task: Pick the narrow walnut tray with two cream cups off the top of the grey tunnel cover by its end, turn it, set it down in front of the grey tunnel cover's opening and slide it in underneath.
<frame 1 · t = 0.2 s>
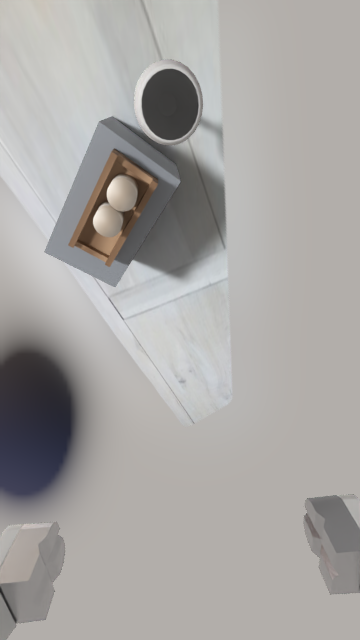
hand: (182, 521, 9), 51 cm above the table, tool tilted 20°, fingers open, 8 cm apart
grey tunnel cover: (117, 195, 51), on the table
wineglass: (165, 103, 44), on the table
tray: (113, 209, 41), point 12 cm above the table, touching grey tunnel cover
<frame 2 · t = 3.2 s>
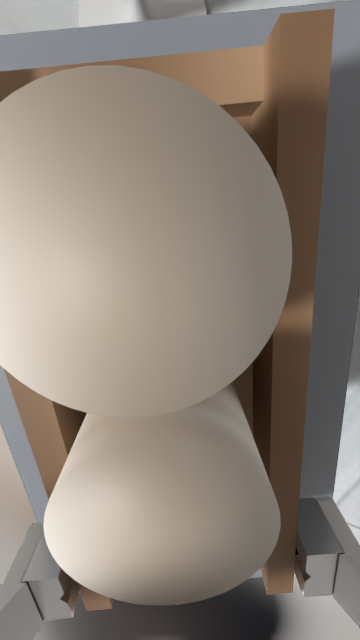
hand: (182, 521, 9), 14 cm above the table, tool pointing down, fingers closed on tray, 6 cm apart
grey tunnel cover: (171, 300, 21), on the table
wineglass: (143, 31, 16), on the table
tray: (167, 361, 9), point 12 cm above the table, touching grey tunnel cover, gripper
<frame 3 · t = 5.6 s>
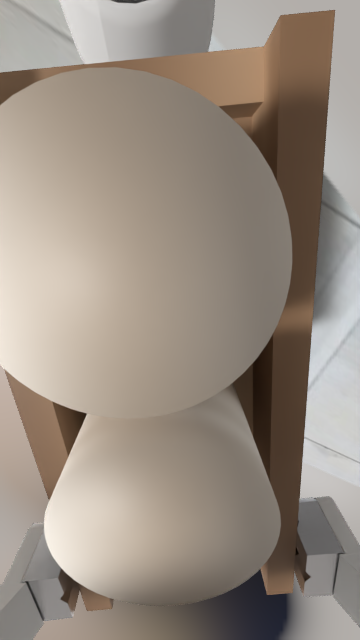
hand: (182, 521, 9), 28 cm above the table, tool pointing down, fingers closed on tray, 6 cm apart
wineglass: (156, 116, 29), on the table
tray: (167, 362, 9), point 26 cm above the table, touching gripper
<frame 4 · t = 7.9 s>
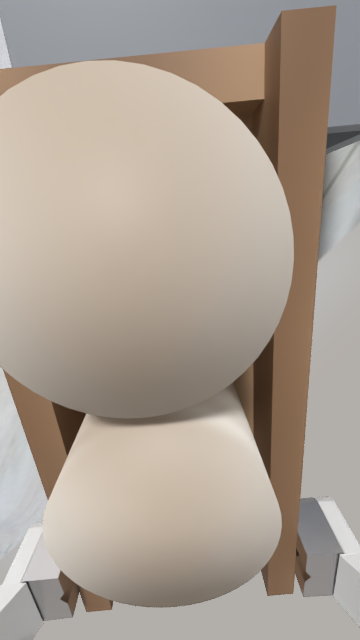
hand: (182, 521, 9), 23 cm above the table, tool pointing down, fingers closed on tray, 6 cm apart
grey tunnel cover: (195, 95, 25), on the table
tray: (167, 361, 9), point 22 cm above the table, touching gripper
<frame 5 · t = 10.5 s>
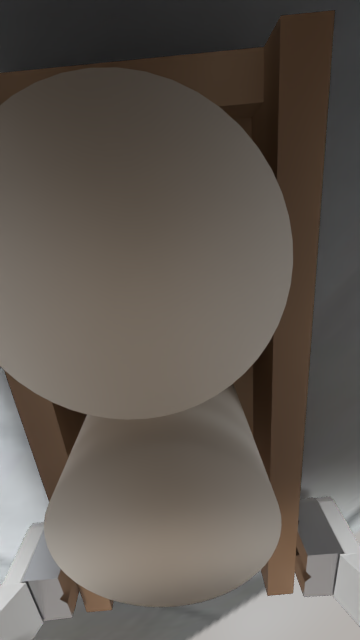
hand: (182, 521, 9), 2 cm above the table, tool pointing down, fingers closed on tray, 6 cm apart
tray: (167, 362, 9), on the table, touching gripper
when the fingers open (2 cm above the table, at t = 12.9 s): tray stays where it is, on the table.
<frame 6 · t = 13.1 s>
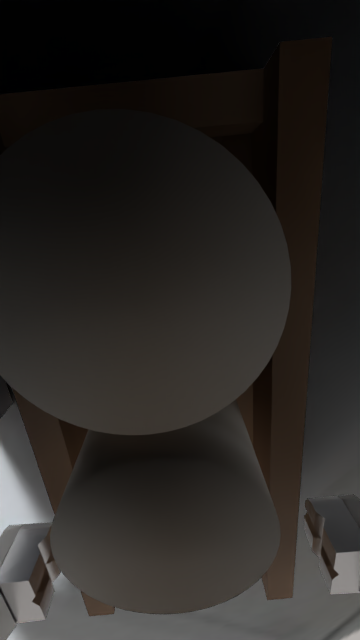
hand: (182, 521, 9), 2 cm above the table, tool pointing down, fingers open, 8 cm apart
grey tunnel cover: (277, 182, 7), on the table
tray: (168, 369, 9), on the table
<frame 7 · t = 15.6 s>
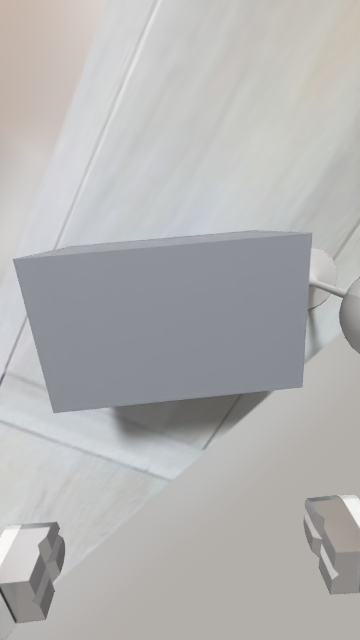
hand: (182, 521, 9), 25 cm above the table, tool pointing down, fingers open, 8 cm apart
grey tunnel cover: (169, 292, 33), on the table
wineglass: (304, 279, 33), on the table
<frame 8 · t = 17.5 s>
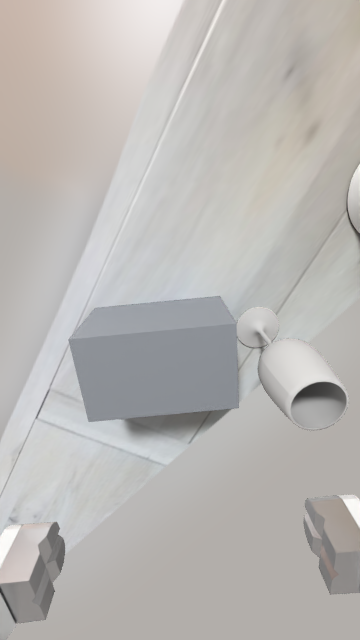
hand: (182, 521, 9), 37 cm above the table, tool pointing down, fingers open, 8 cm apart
grey tunnel cover: (161, 336, 47), on the table
wineglass: (256, 326, 47), on the table
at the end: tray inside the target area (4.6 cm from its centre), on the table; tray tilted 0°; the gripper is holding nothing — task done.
